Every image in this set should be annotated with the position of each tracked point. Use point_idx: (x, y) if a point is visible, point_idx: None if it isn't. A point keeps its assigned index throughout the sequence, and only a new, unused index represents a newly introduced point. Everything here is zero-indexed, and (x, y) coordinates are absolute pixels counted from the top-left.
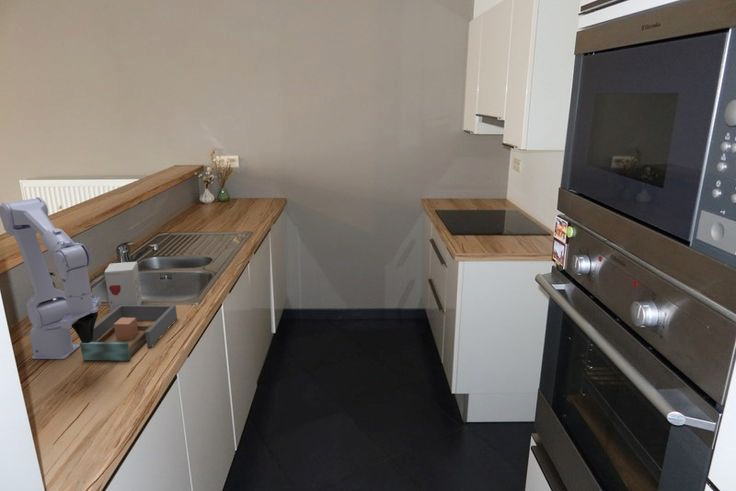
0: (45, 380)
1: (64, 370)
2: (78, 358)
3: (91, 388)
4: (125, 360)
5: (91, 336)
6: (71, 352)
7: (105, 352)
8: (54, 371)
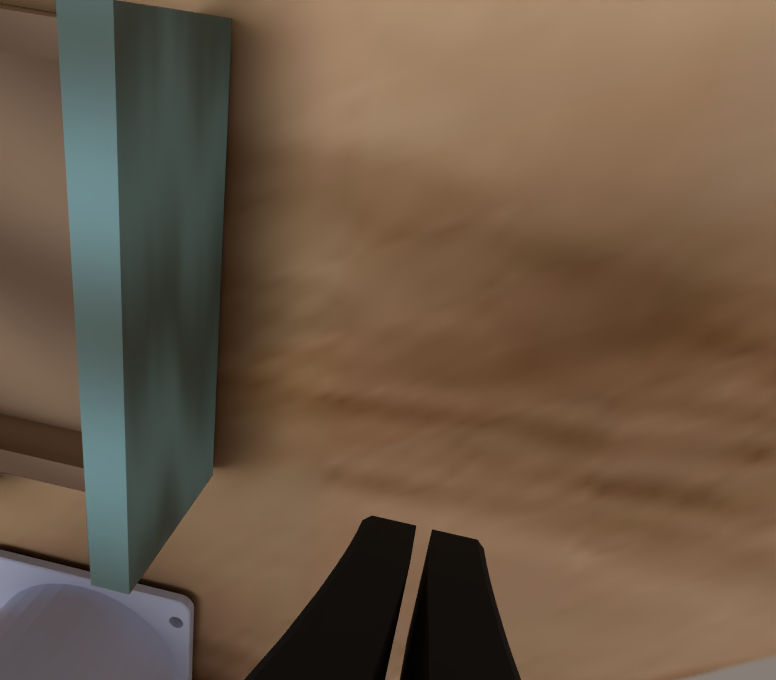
0: None
1: None
2: None
3: (768, 253)
4: (229, 64)
5: (402, 589)
6: None
7: (181, 303)
8: None
